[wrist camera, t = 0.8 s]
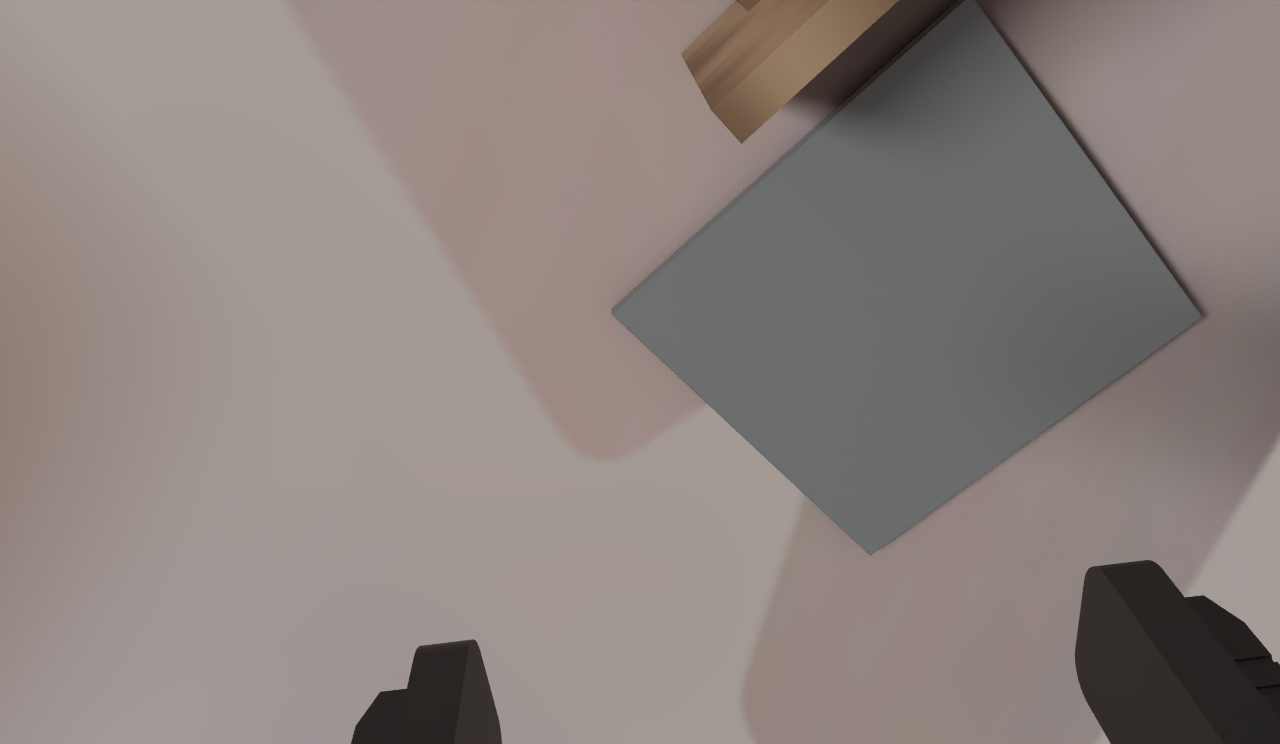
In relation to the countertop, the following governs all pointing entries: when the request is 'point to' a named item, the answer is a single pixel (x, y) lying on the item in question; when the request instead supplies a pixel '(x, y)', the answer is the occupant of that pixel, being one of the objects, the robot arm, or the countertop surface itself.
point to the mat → (912, 287)
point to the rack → (772, 53)
